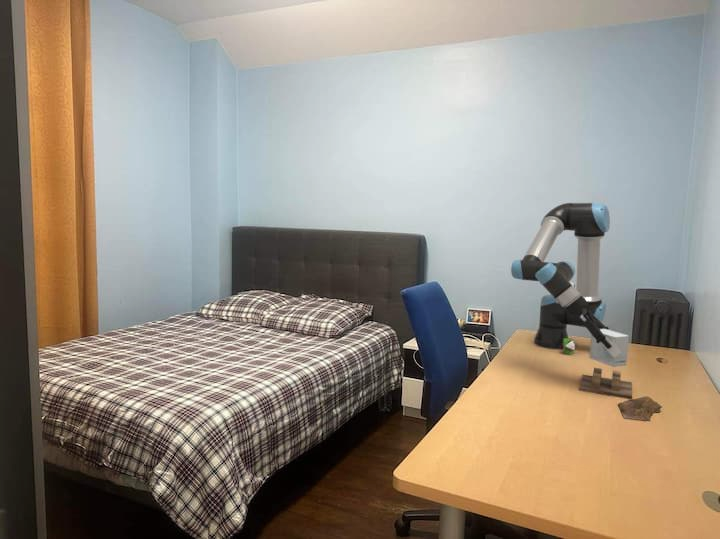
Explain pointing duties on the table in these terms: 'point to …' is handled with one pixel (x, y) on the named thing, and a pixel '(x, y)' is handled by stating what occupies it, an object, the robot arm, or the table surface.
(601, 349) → the skincare box
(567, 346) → the geometric puzzle
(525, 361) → the table surface
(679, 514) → the table surface
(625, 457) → the table surface
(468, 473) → the table surface
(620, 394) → the ridge board
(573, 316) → the robot arm
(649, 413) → the wooden fragment
